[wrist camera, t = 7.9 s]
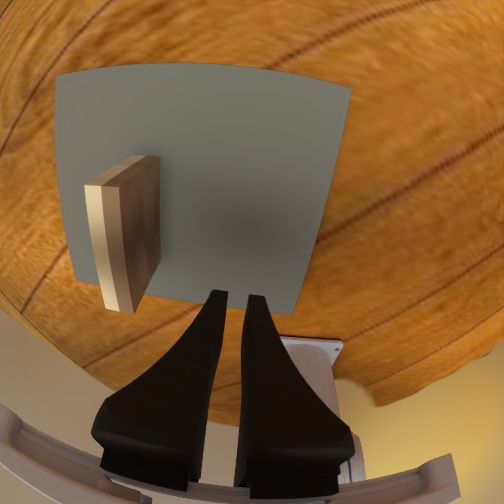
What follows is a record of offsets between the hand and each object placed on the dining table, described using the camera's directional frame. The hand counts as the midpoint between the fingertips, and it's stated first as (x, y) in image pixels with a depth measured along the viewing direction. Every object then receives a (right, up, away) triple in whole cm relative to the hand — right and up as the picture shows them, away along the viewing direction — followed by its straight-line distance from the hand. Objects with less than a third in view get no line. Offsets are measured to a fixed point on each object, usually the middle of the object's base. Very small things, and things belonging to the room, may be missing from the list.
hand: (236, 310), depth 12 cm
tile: (-7, +5, +7) cm, 11 cm away
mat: (-5, +6, +7) cm, 10 cm away
